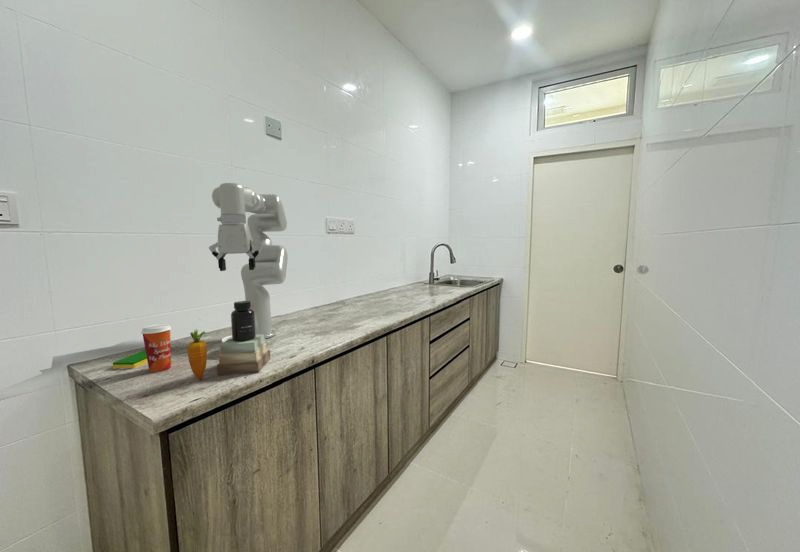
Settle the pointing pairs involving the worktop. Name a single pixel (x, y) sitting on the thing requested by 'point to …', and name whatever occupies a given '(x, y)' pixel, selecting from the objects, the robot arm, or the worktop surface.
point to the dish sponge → (132, 361)
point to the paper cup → (157, 346)
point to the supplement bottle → (243, 321)
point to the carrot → (197, 355)
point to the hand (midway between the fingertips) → (237, 270)
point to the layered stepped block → (243, 356)
